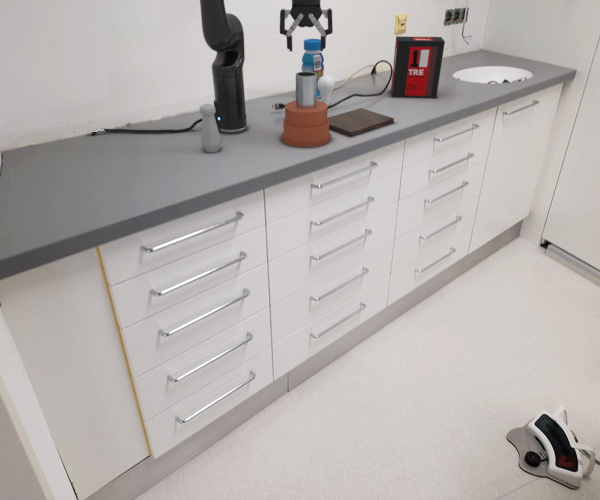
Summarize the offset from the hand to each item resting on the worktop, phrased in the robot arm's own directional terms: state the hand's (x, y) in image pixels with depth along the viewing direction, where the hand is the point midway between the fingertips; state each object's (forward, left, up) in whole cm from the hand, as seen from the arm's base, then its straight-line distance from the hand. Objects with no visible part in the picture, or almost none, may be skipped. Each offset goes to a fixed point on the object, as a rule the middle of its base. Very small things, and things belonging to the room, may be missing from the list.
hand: (306, 50), depth 131 cm
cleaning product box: (+40, +49, -25) cm, 68 cm away
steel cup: (0, 0, -15) cm, 15 cm away
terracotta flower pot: (0, 0, -25) cm, 25 cm away
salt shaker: (-27, -10, -25) cm, 38 cm away
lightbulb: (+6, +32, -25) cm, 41 cm away
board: (+16, +14, -25) cm, 33 cm away
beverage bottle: (+1, +46, -25) cm, 53 cm away
